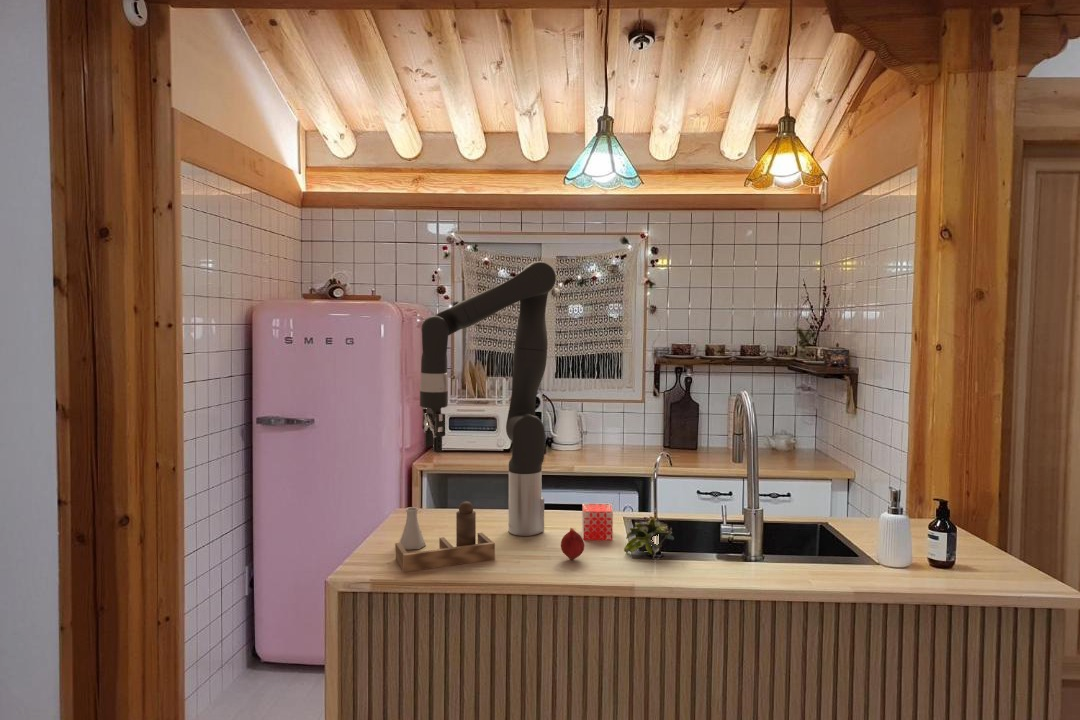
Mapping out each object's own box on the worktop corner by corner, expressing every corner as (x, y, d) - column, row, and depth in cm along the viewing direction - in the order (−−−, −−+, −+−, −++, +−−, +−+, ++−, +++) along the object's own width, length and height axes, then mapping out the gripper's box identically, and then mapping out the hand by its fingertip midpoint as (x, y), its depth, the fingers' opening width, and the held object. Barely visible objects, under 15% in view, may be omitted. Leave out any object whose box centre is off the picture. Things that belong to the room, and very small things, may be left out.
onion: (587, 557, 174) (587, 526, 174) (578, 565, 169) (579, 532, 168) (566, 554, 177) (566, 523, 176) (557, 561, 171) (557, 529, 171)
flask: (429, 542, 186) (429, 505, 185) (421, 551, 179) (421, 512, 178) (402, 541, 187) (402, 504, 186) (394, 550, 179) (394, 511, 179)
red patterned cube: (612, 540, 188) (612, 511, 188) (583, 540, 189) (583, 511, 188) (610, 531, 196) (610, 503, 196) (582, 531, 196) (582, 503, 196)
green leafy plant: (650, 569, 181) (675, 530, 183) (659, 577, 170) (686, 535, 172) (614, 544, 182) (639, 506, 183) (621, 550, 171) (648, 509, 172)
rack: (482, 547, 182) (482, 532, 181) (494, 559, 173) (494, 543, 173) (395, 559, 173) (395, 543, 172) (404, 572, 164) (404, 555, 164)
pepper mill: (472, 551, 179) (472, 498, 178) (478, 557, 174) (478, 502, 173) (454, 553, 177) (453, 500, 176) (459, 559, 172) (459, 504, 172)
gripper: (455, 391, 184) (454, 452, 185) (440, 386, 197) (439, 443, 198) (427, 392, 181) (426, 454, 182) (413, 387, 194) (413, 445, 195)
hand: (433, 448), depth 190 cm, fingers open, 8 cm apart
